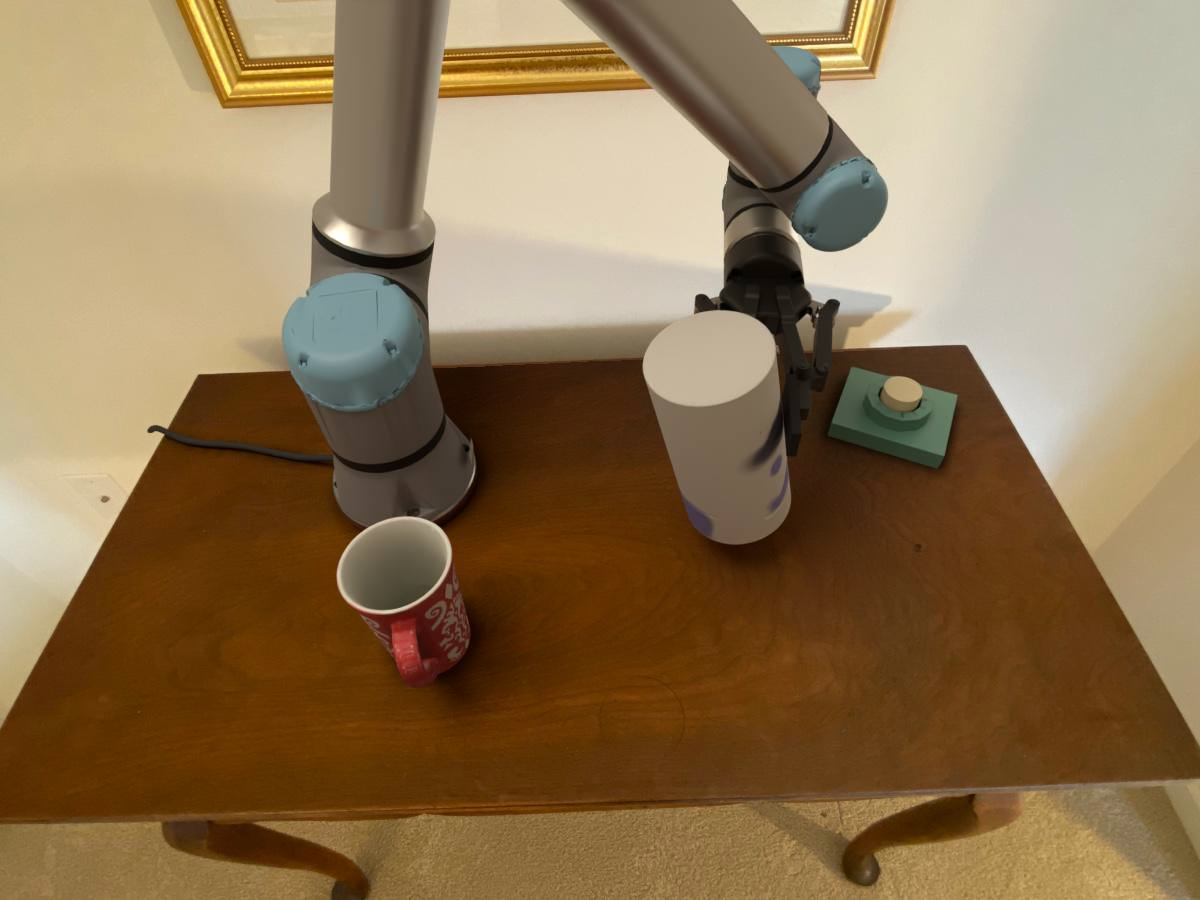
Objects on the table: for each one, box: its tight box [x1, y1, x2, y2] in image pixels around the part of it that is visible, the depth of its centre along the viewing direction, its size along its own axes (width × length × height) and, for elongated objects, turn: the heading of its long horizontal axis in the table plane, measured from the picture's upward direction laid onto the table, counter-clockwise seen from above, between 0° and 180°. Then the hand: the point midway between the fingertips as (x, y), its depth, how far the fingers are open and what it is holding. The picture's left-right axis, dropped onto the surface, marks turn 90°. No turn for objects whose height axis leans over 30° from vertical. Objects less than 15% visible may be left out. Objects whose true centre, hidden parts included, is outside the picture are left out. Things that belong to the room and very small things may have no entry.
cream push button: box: [880, 375, 923, 413], centre depth 78 cm, size 4×4×2 cm
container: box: [642, 310, 792, 545], centre depth 61 cm, size 10×10×20 cm
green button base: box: [827, 366, 958, 470], centre depth 80 cm, size 12×10×4 cm
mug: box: [335, 516, 471, 689], centre depth 60 cm, size 13×9×14 cm
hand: (773, 443), depth 55 cm, fingers closed on container, 2 cm apart
